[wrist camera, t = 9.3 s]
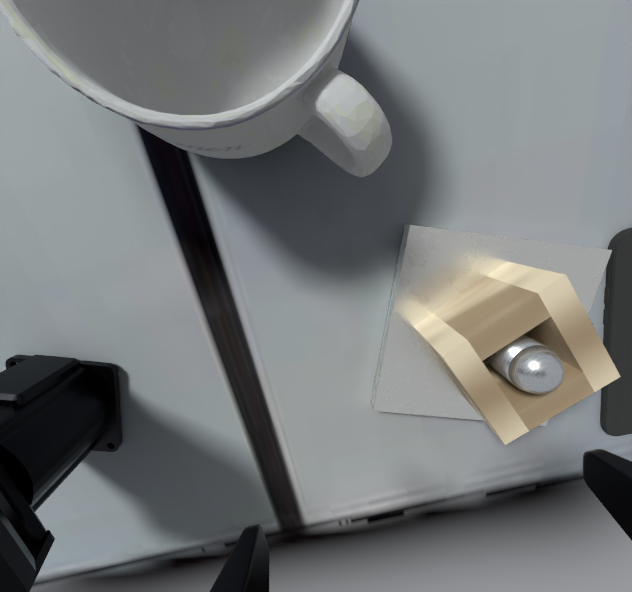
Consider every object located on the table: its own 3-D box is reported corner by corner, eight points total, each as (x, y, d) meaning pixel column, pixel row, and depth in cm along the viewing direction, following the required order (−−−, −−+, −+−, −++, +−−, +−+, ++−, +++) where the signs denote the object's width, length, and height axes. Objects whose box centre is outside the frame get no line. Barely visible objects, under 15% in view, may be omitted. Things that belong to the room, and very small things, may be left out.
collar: (555, 343, 19) (620, 376, 15) (466, 399, 19) (505, 444, 16) (507, 261, 17) (566, 274, 13) (413, 326, 18) (442, 356, 14)
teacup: (81, 23, 14) (-177, -197, 7) (256, -145, 13) (183, -663, 5) (259, 255, 18) (221, 285, 10) (414, 140, 16) (511, 71, 9)
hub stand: (535, 416, 21) (625, 495, 15) (370, 401, 20) (396, 478, 14) (596, 248, 18) (739, 264, 12) (404, 224, 17) (455, 228, 11)
